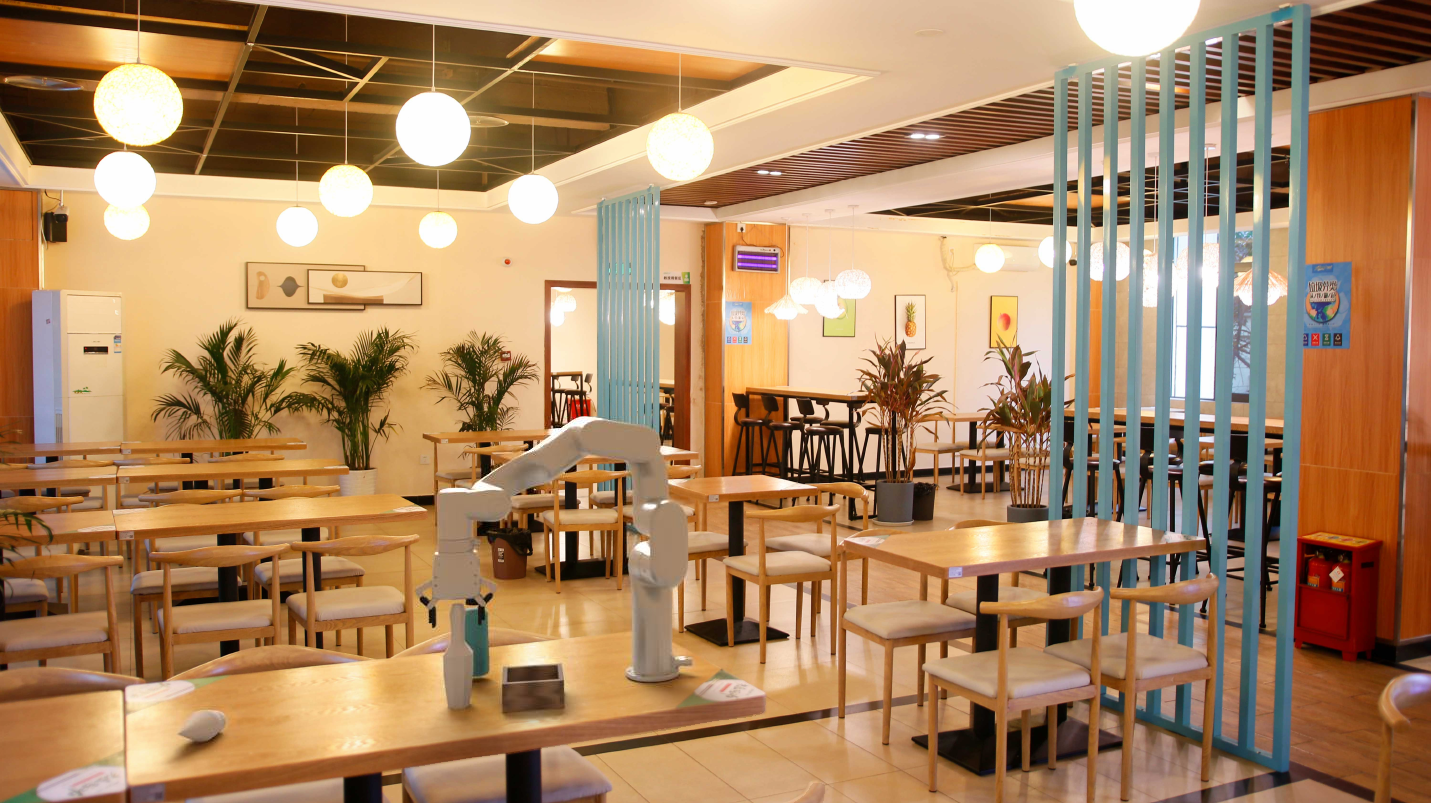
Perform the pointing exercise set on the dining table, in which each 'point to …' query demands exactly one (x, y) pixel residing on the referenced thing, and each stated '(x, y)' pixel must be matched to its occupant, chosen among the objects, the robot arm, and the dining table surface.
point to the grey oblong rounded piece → (203, 725)
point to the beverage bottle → (477, 639)
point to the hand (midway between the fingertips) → (457, 624)
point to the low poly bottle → (458, 662)
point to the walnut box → (532, 687)
